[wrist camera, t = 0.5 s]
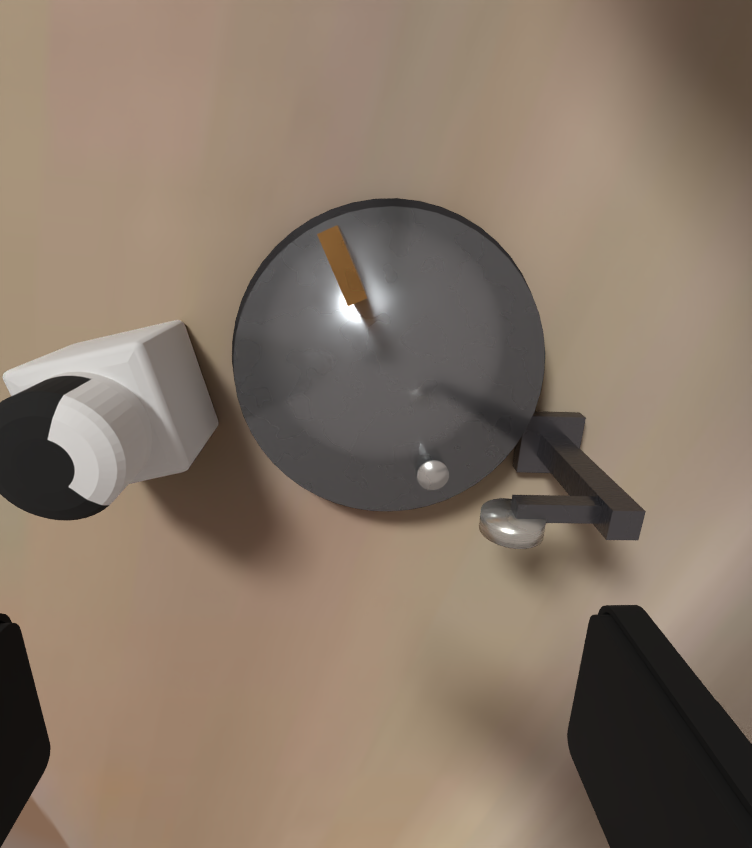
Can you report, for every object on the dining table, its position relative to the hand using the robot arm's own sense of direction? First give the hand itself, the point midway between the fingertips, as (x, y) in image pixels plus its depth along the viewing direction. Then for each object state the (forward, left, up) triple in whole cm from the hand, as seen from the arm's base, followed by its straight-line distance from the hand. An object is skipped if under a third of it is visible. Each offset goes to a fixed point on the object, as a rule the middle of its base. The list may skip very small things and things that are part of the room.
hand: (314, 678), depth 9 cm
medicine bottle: (+3, -12, -26) cm, 28 cm away
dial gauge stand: (+6, +12, -25) cm, 28 cm away
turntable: (+1, +3, -24) cm, 25 cm away
